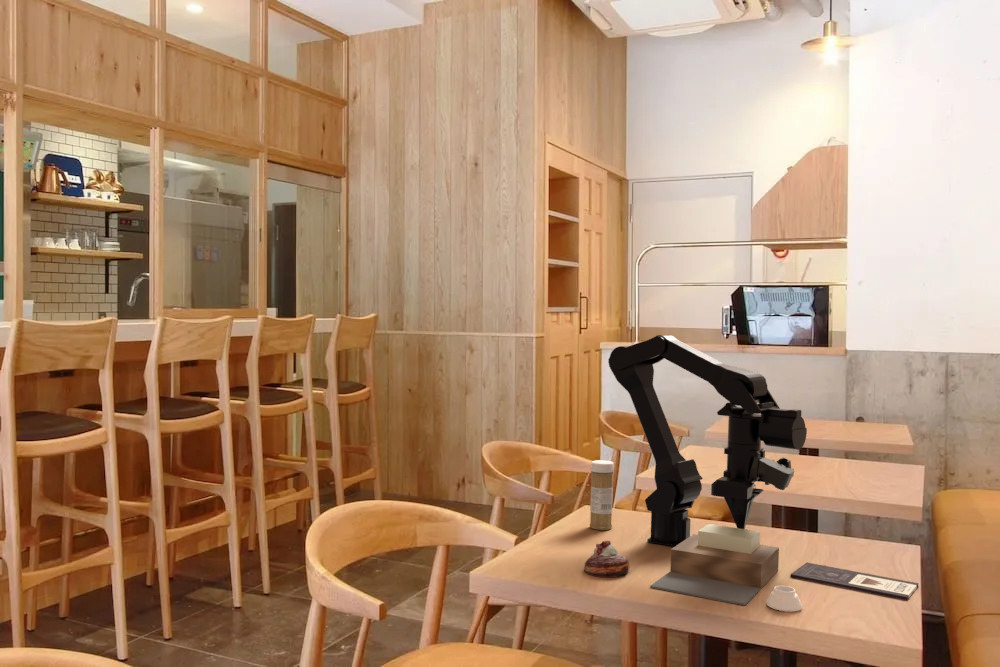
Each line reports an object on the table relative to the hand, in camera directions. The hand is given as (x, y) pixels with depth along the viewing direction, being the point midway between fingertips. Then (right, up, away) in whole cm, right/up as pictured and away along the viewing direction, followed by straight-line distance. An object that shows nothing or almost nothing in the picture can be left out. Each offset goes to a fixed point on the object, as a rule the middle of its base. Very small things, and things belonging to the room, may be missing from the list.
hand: (741, 529), depth 158 cm
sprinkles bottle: (-23, -4, +20) cm, 30 cm away
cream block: (-4, -1, -7) cm, 8 cm away
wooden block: (-5, -5, -8) cm, 11 cm away
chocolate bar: (+15, -7, -12) cm, 21 cm away
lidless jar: (-1, -6, -25) cm, 26 cm away
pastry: (-25, -5, -10) cm, 27 cm away
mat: (-11, -6, -18) cm, 21 cm away
